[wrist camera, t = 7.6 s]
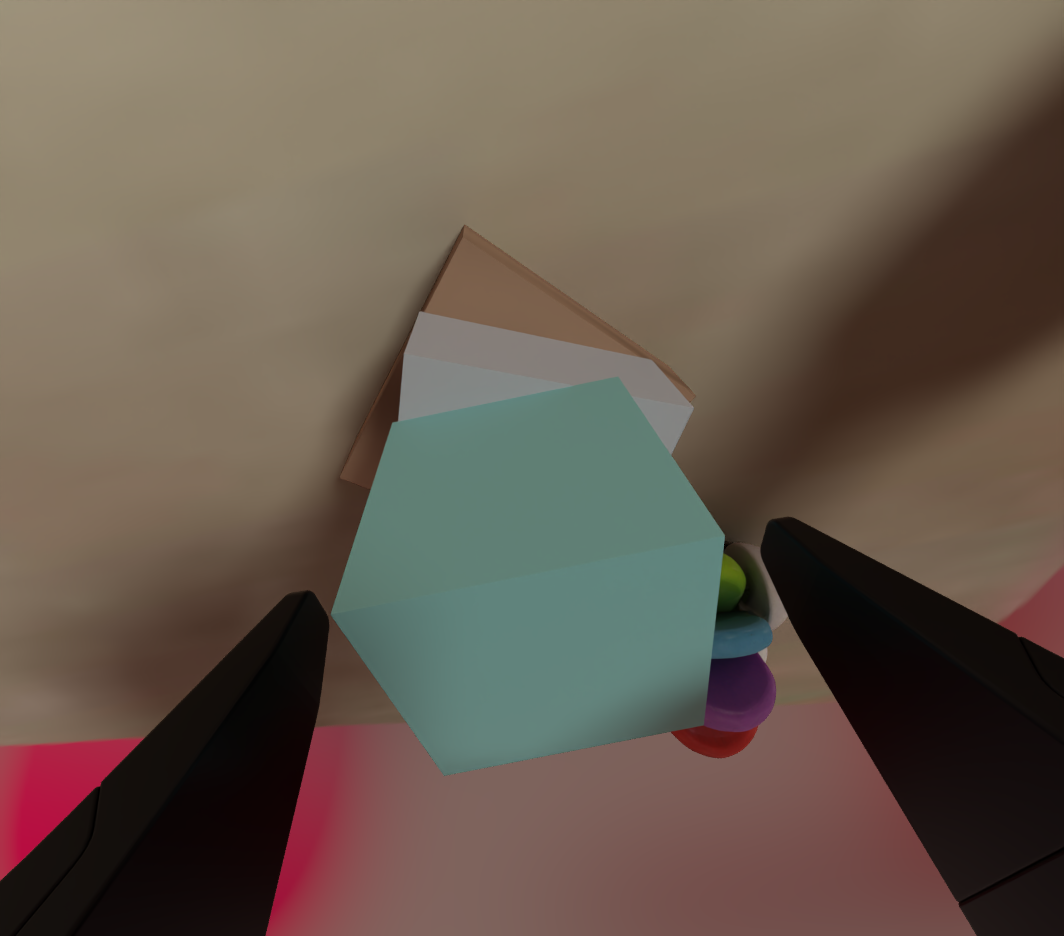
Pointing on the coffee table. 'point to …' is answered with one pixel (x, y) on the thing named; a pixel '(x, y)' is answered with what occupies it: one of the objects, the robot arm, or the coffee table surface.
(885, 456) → the coffee table surface
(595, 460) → the teal cube
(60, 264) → the coffee table surface
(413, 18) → the coffee table surface
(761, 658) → the rainbow segmented toy
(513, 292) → the tower base
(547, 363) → the tower mid
